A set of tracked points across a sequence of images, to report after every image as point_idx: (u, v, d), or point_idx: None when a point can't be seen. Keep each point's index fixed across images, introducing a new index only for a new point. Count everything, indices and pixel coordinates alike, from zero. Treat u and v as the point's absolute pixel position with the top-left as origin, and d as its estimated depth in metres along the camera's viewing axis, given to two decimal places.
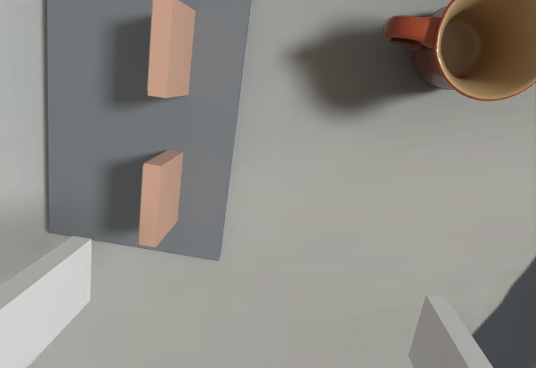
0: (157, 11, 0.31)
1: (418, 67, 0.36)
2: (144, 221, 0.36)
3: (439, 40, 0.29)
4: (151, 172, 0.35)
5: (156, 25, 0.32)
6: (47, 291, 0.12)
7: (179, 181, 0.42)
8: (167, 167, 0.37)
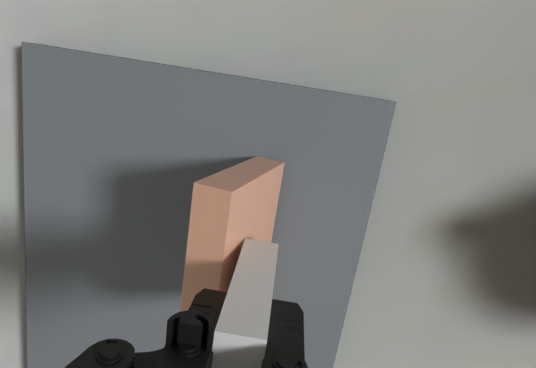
0: (199, 215, 0.15)
1: None
2: None
3: None
4: None
5: (196, 240, 0.15)
6: None
7: None
8: None
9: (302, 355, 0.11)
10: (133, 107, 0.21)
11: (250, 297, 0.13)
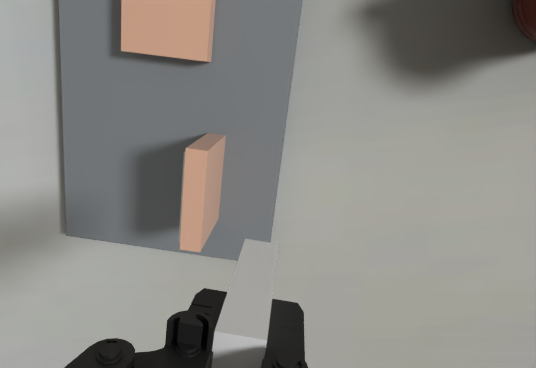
0: None
1: (527, 19, 0.29)
2: (186, 220, 0.29)
3: None
4: (195, 159, 0.28)
5: None
6: None
7: (221, 171, 0.35)
8: (213, 152, 0.30)
9: (302, 355, 0.11)
10: None
11: (250, 297, 0.13)
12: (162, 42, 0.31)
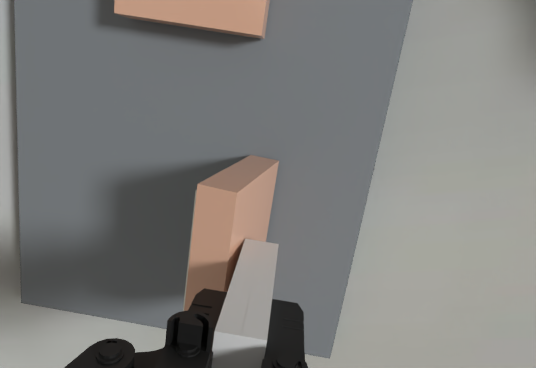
0: None
1: None
2: None
3: None
4: (213, 206, 0.15)
5: None
6: None
7: (267, 218, 0.21)
8: (250, 193, 0.16)
9: (302, 355, 0.11)
10: None
11: (250, 297, 0.13)
12: (186, 0, 0.18)
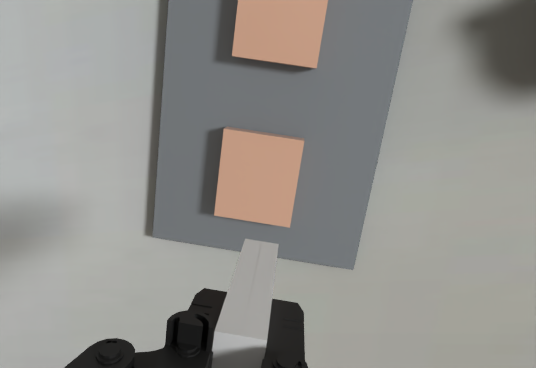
0: None
1: None
2: None
3: None
4: None
5: None
6: None
7: (292, 176, 0.34)
8: (245, 138, 0.34)
9: (302, 355, 0.11)
10: None
11: (250, 297, 0.13)
12: (274, 48, 0.31)
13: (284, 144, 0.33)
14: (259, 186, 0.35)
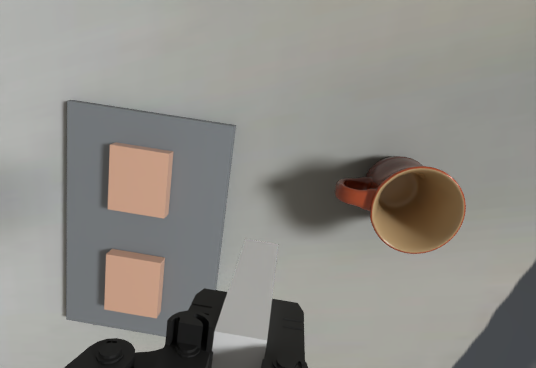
0: None
1: None
2: None
3: (373, 210, 0.37)
4: None
5: None
6: None
7: (155, 285, 0.49)
8: (121, 260, 0.49)
9: (302, 355, 0.11)
10: (118, 129, 0.46)
11: (250, 297, 0.13)
12: (135, 205, 0.47)
13: (147, 265, 0.49)
14: (133, 291, 0.50)
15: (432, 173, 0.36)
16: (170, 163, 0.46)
